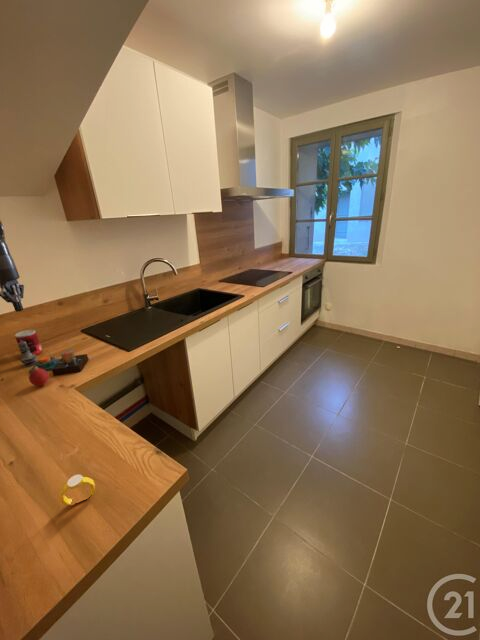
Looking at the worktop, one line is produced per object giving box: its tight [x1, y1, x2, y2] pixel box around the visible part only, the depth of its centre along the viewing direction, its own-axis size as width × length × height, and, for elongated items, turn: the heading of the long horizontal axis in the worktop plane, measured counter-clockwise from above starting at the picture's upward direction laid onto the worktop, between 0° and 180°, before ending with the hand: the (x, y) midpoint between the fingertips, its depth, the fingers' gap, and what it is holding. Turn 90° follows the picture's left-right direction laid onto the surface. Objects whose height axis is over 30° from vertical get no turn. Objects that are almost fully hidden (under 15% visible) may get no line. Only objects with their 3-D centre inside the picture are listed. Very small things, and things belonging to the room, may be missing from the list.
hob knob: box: [60, 348, 76, 364], centre depth 108 cm, size 4×4×5 cm
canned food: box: [14, 329, 43, 357], centre depth 122 cm, size 8×8×11 cm
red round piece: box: [28, 367, 50, 387], centre depth 97 cm, size 6×6×8 cm
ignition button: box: [38, 355, 51, 363], centre depth 110 cm, size 4×4×2 cm
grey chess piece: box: [17, 340, 39, 368], centre depth 112 cm, size 6×6×12 cm
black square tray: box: [51, 353, 89, 377], centre depth 109 cm, size 10×10×3 cm
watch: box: [60, 474, 96, 506], centre depth 55 cm, size 6×3×6 cm, turn 117°
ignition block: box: [28, 356, 61, 375], centre depth 111 cm, size 10×8×3 cm
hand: (19, 310), depth 104 cm, fingers closed
